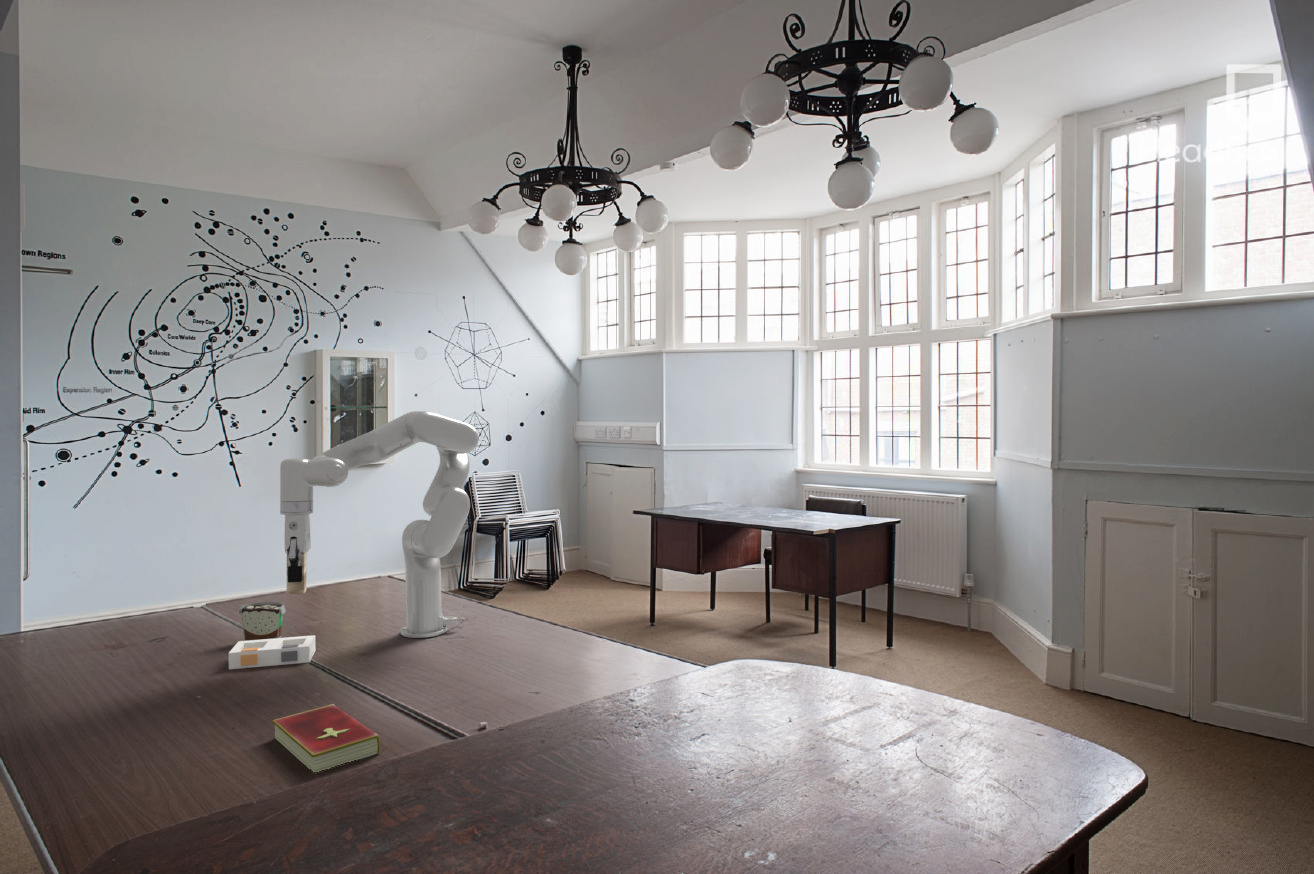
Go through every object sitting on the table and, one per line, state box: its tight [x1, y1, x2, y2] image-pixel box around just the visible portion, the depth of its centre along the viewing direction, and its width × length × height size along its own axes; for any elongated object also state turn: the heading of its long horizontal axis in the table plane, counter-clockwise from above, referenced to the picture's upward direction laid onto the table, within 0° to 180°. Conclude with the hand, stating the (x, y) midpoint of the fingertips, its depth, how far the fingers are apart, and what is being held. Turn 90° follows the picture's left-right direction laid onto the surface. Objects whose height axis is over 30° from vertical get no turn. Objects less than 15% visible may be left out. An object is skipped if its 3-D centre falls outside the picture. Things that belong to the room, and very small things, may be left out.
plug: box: [286, 552, 308, 595], centre depth 196 cm, size 4×4×10 cm
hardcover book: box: [271, 703, 382, 773], centre depth 145 cm, size 12×21×4 cm, turn 44°
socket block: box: [227, 635, 316, 670], centre depth 195 cm, size 18×10×4 cm, turn 106°
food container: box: [238, 601, 287, 641], centre depth 212 cm, size 12×6×10 cm, turn 84°
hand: (296, 579), depth 196 cm, fingers closed on plug, 4 cm apart
